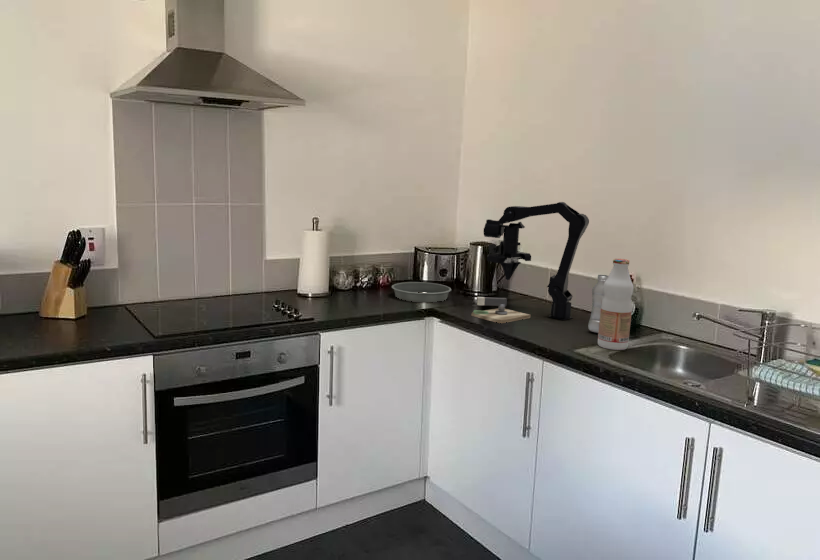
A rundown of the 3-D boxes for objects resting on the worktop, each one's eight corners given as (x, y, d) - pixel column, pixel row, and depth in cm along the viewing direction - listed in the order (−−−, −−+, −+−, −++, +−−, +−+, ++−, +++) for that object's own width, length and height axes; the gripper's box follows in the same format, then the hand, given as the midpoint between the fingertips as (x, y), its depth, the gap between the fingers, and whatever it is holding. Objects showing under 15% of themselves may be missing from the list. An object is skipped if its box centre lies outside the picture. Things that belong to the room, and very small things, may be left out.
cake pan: (392, 290, 295) (392, 280, 295) (449, 293, 295) (449, 283, 295) (390, 302, 271) (390, 291, 270) (452, 305, 271) (452, 294, 270)
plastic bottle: (592, 329, 241) (598, 273, 238) (610, 333, 237) (616, 276, 233) (584, 332, 236) (589, 275, 233) (603, 336, 232) (608, 277, 229)
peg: (504, 309, 254) (505, 297, 254) (506, 310, 252) (507, 299, 251) (476, 308, 254) (477, 296, 253) (477, 310, 251) (478, 298, 250)
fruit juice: (597, 348, 216) (605, 260, 211) (597, 341, 225) (605, 256, 220) (628, 351, 213) (637, 262, 209) (627, 344, 222) (636, 259, 218)
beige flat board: (530, 318, 254) (530, 312, 254) (499, 323, 242) (499, 318, 242) (496, 309, 266) (497, 304, 266) (465, 314, 254) (466, 309, 254)
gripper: (512, 236, 273) (509, 274, 276) (478, 237, 262) (475, 277, 265) (533, 239, 265) (530, 279, 267) (499, 241, 253) (496, 282, 256)
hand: (507, 279), depth 264 cm, fingers closed
